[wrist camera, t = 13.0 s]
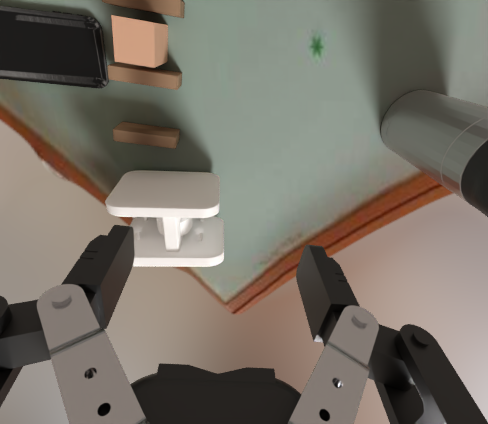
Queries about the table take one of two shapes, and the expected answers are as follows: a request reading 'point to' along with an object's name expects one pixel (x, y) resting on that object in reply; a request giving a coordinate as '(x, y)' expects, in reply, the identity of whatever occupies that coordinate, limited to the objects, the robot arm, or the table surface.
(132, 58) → the plug block
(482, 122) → the robot arm
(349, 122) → the table surface
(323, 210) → the table surface
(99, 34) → the phone
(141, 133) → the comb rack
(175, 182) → the cable organizer
